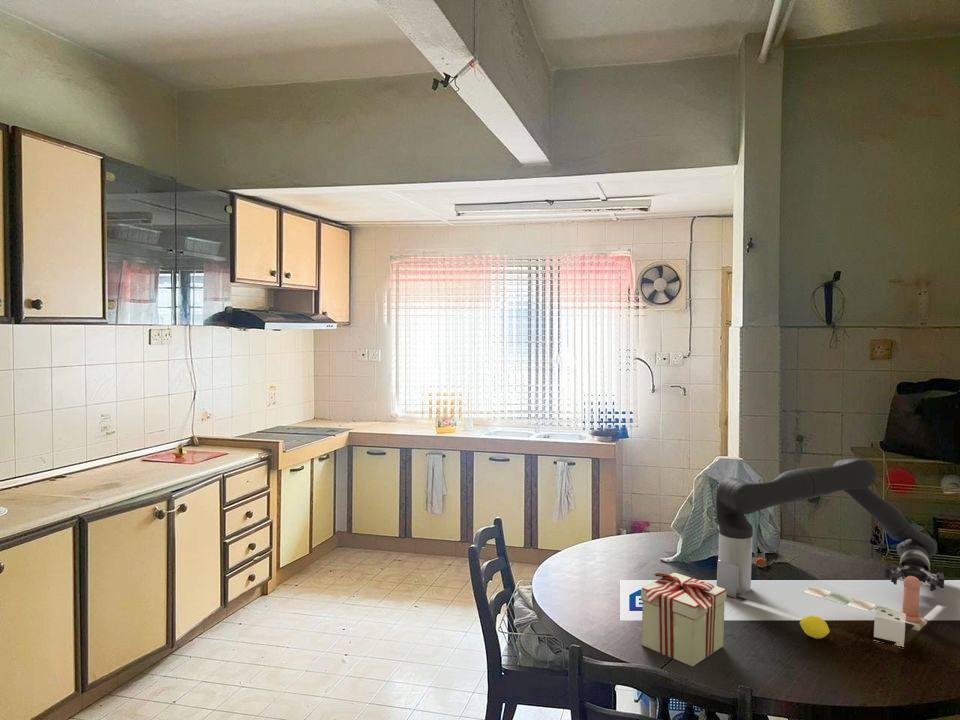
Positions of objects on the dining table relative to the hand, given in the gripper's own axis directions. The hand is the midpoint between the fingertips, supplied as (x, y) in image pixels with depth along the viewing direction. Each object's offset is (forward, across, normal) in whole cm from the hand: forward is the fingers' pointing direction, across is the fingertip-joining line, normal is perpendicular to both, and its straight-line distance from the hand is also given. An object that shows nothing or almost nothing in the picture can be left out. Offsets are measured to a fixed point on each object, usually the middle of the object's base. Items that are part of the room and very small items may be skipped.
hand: (913, 584), depth 195 cm
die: (+20, -4, +8) cm, 23 cm away
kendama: (-24, -43, +9) cm, 50 cm away
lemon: (+29, -21, +8) cm, 37 cm away
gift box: (+54, -47, +8) cm, 72 cm away
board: (+4, -12, +8) cm, 15 cm away
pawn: (+7, 0, +7) cm, 10 cm away
